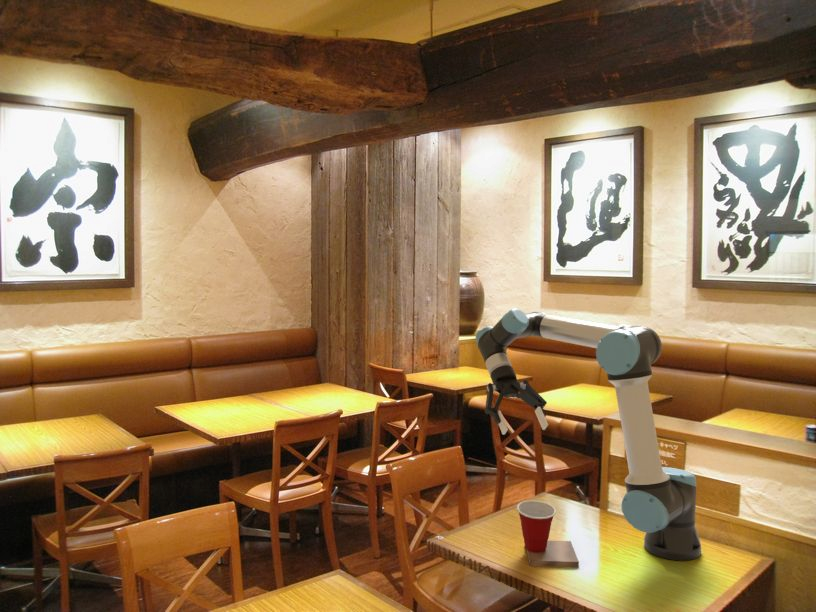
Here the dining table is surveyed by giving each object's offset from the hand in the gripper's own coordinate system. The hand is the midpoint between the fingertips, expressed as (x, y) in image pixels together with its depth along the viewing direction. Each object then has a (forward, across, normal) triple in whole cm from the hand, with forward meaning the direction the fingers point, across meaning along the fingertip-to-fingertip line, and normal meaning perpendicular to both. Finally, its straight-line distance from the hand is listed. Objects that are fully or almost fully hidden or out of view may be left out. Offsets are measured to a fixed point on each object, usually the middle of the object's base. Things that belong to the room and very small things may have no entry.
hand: (525, 429), depth 198 cm
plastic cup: (+30, +3, -15) cm, 33 cm away
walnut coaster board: (+32, 0, -14) cm, 35 cm away
